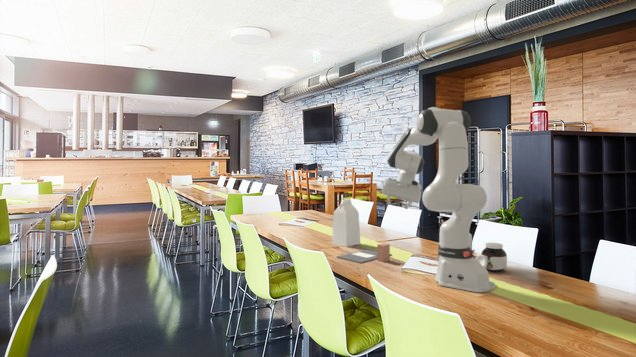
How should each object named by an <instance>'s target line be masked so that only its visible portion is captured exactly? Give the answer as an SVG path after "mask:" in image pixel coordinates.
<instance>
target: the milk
mask: <svg viewBox="0 0 636 357" xmlns="http://www.w3.org/2000/svg"><path fill="white" fill-rule="evenodd" d="M332 216H333V217H332V235H331V236H332V238H331V244H332V245H337V246H341V247H352V246H355V245H356V246H357V245H361V232H360V230H361V229H360V214H359V211H358V209H357V208H356V207H355V205H353V204H352V200H351V198H348V199H347V198H346V199H341V202H340V204H339V205H338V206H337V208H335V210H334V211H333V215H332Z"/></svg>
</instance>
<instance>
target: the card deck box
mask: <svg viewBox="0 0 636 357" xmlns="http://www.w3.org/2000/svg"><path fill="white" fill-rule="evenodd" d="M390 248H391V247H390V243H385V242H383V243H382V242H381V243H379V244H377V249H376V251H377V259H376V260H377V262H381V263H385V262H389V261H390V254H391V253H390V250H391V249H390Z"/></svg>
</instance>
